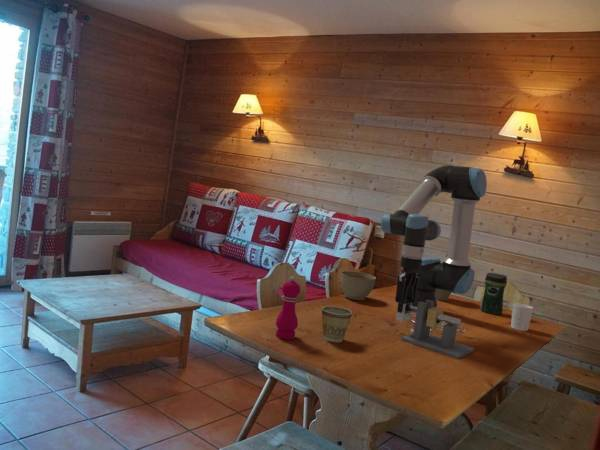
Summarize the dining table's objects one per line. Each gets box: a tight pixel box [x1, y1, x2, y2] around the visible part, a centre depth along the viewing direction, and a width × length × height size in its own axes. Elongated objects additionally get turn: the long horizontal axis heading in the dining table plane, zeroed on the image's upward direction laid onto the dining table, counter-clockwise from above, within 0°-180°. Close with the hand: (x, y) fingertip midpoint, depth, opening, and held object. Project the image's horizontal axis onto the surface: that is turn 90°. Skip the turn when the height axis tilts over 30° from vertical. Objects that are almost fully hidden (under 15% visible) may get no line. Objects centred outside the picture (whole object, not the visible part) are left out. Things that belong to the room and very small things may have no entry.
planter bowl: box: [340, 270, 377, 301], centre depth 242 cm, size 16×16×11 cm
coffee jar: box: [480, 272, 508, 316], centre depth 248 cm, size 10×8×19 cm
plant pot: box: [435, 289, 452, 302], centre depth 264 cm, size 15×15×16 cm
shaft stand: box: [400, 300, 475, 359], centre depth 184 cm, size 21×14×14 cm, turn 51°
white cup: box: [510, 302, 534, 332], centre depth 224 cm, size 8×8×10 cm
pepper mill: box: [275, 276, 301, 340], centre depth 172 cm, size 7×7×20 cm
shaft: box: [405, 300, 462, 327], centre depth 187 cm, size 22×4×4 cm, turn 51°
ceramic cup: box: [321, 305, 357, 343], centre depth 177 cm, size 13×10×10 cm
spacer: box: [426, 306, 445, 329], centre depth 185 cm, size 3×6×6 cm, turn 141°
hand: (402, 319), depth 193 cm, fingers closed on shaft, 4 cm apart
